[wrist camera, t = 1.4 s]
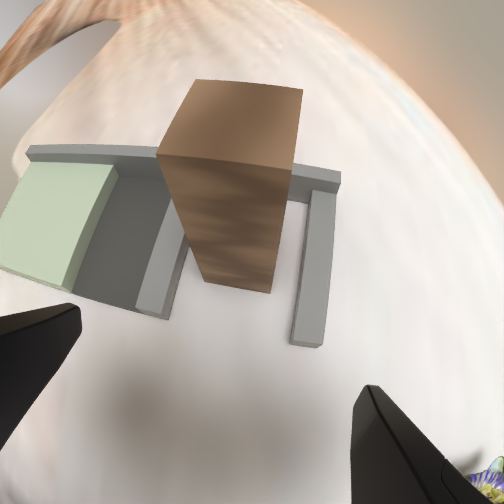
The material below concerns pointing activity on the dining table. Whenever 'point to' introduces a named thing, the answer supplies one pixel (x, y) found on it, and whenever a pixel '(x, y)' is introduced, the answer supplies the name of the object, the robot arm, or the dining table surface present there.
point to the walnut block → (232, 176)
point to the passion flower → (490, 481)
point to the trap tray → (139, 231)
